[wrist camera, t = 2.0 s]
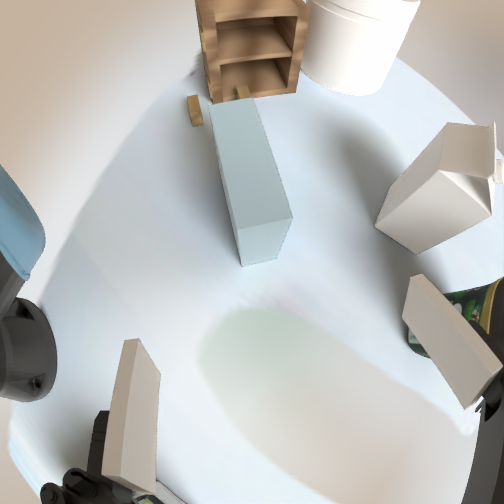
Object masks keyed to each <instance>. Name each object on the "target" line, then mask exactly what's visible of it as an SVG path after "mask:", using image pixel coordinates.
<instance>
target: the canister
mask: <svg viewBox="0 0 504 504" xmlns="http://www.w3.org/2000/svg"><path fill="white" fill-rule="evenodd" d="M306 4H307V5H308V6H309V7H310V8H311V10H310V16H309V21H308V27H307V33H306V38H305V44H304V50H303V55H302V61H301V66H300V68H301V70H302V71H303V72H304V73H305V74H306V75H307V76H308V77H309V78H310V79H311V80H313V81H315V82H316V83H318V84H320V85H321V86H323V87H325V88H328V89H331V90H333V91H336V92H338V93H343V94H348V95H369V94H372V93H375V92H376V91H377V90H378V89H379V88H380V87H381V85H382V83H383V81H384V79H385V77H386V75H387V73H388V71H389V69H390V67H391V65H392V63H393V61H394V59H395V57H396V54H397V52H398V50H399V48H400V46H401V44H402V42H403V39H404V37H405V35H406V33H407V31H408V29H409V25H410V22H411V21H412V20H413V17H414V15H415V13H416V11H417V8H418V6H419V4H420V0H306Z"/></svg>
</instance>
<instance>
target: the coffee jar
mask: <svg viewBox="0 0 504 504" xmlns="http://www.w3.org/2000/svg"><path fill="white" fill-rule="evenodd" d="M442 295H443V296H444V297H445V298H446V299H447V300H448V301H449V302H450V303H451V304H452V305H453V306H454V307H455V308H456V310H457V311H458V312H459V313H460V314H461V315H462V316H463V317H464V318H465V320H466V321H469V320H471V319H472V320H473V321H475V322H477V323H478V324H480V325H481V326H482V327H483V329H484V330H485V331H486V333H487V334H489V336H490V337H491V339H493V340H494V341H495V343H496V344H497V345H498V346H499V348H500V349H501V350H502V351H503V353H504V277H502V278H500V279H498V280H497V281H495V282H493V283H491V284H488V285H485V286H481V287H477V288H472V289H468V290H463V291H458V292H452V293H446V294H442ZM408 342H409V345H410V347H411V349H412V350H413V351H414V352H415V353H417V354H419V355H421V356H424V357H427V358H430V356H429V355H428V353H427V352H426V350H425V349H424V348H423V346H422V345H421V343H420V342H419V341H418V339H417V338H416V336H415V335H414V334H413V332H412V331H411V330H410V328H409V330H408ZM430 359H431V358H430Z"/></svg>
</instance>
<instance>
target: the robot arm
mask: <svg viewBox="0 0 504 504" xmlns="http://www.w3.org/2000/svg"><path fill="white" fill-rule="evenodd" d="M44 247H45V233H44V229H43V226H42V224H41V222H40V220H39V218H38V216H37V214H36V213H35V211H34V209H33V208H32V206H31V205H30V203H29V202H28V201H27V199H26V198H25V196H24V195H23V193H22V192H21V191H20V189H19V188H18V186H17V185H16V184H15V182H14V181H13V180H12V178H11V177H10V176H9V175H8V173H7V172H6V171H5V170H4V168H3V167H2V166H1V165H0V397H4V398H8V399H12V400H16V401H20V402H31V401H35V400H39V399H42V398H43V397H45V396H46V395H47V394H48V393H49V392H50V390H51V388H52V386H53V384H54V381H55V377H56V371H57V353H56V346H55V341H54V337H53V334H52V331H51V328H50V326H49V324H48V322H47V320H46V318H45V316H44V315H43V313H42V312H41V310H40V309H39V308H38V307H37V306H36V305H35V304H34V303H32V302H31V301H29V300H27V299H23V298H17V297H16V296H17V294H18V292H19V291H20V289H21V287H22V286H23V284H24V283H25V281H27V280H28V279H29V277H30V272H31V270H32V268H33V267H34V265H35V264H36V262H37V260H38V259H39V257H40V256H41V254H42V252H43V249H44ZM402 319H403V320H404V321H405V323H406V324H407V325H408V327H409V328H410V330H411V331H412V332H413V334H414V335H415V336H416V338H417V339H418V341H419V342H420V343H421V345H422V346H423V348H424V349H425V350H426V352H427V353H428V355H429V356H430V358H431V359H432V360H433V362H434V363H435V365H436V366H437V368H438V369H439V371H440V372H441V374H442V375H443V377H444V378H445V380H446V381H447V383H448V384H449V386H450V388H451V389H452V391H453V392H454V394H455V395H456V397H457V399H458V400H459V402H460V403H461V405H462V407H463V408H464V410H466V409H467V408H469V407H470V406H472V405H473V404H474V403H476V402H477V401H478V399H479V398H480V397H481V396H483V398H484V399H483V400H482V401H481V403H480V404H479V405H478V406H477V408H476V410H475V412H477V411H478V410H479V409H480V408H481V410H480V412H479V413H481V416H480V424H479V431H478V437H477V443H476V449H475V454H474V459H473V464H472V467H471V472H470V476H469V479H468V483H467V487H466V490H465V493H464V497H463V500H462V503H461V504H504V353H503V351H502V350H501V349H500V348H499V346H498V345H497V344H496V343H495V341H494V340H493V339H491V337H490V336H489V334H487V333H486V331H485V330H484V329H483V327H482V326H481V325H480V324H478V323H477V322H475V321H473V320H472V319H471V320H469V321H466V320H465V318H464V317H463V316H462V315H461V314H460V313H459V312H458V311H457V310H456V308H455V307H454V306H453V305H452V304H451V303H450V302H449V301H448V300H447V299H446V298H445V297H444V296H443V295H442V293H441V292H440V291H439V290H438V289H437V288H436V287H435V286H434V285H433V284H432V283H431V282H430V281H429V280H428V279H427V278H426V277H425V276H424V275H423V274H422V273H421V274H418V275H415V276H412V277H410V282H409V287H408V292H407V296H406V301H405V305H404V310H403V314H402ZM160 376H161V374H160V372H159V371H158V369H157V368H156V366H155V364H154V363H153V361H152V359H151V358H150V356H149V355H148V353H147V351H146V350H145V348H144V346H143V344H142V343H141V341H140V339H139V338H138V339H131V340H125V341H124V345H123V349H122V353H121V358H120V362H119V366H118V371H117V376H116V381H115V386H114V391H113V396H112V401H111V407H110V411H100V412H99V414H98V415H97V417H96V419H95V421H94V426H93V433H92V438H91V440H92V442H91V444H90V451H89V458H88V466H87V472H85V471H83V470H81V469H79V468H73V469H70V470H68V471H67V472H66V473H65V475H64V477H63V486H61V487H60V486H58V485H56V484H54V483H46V484H44V485H43V487H42V488H41V491H40V498H41V502H42V504H139V503H138V502H137V500H136V499H135V498H134V497H133V496H132V491H134V492H136V493H139V494H151V495H156V440H157V418H158V402H159V388H160Z"/></svg>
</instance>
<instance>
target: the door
mask: <svg viewBox="0 0 504 504" xmlns="http://www.w3.org/2000/svg"><path fill="white" fill-rule="evenodd" d="M208 107H209V113H210V118H211V124H212V130H213V136H214V141H215V147H216V152H217V158H218V163H219V169H220V174H221V179H222V183H223V188H224V192H225V196H226V201H227V205H228V209H229V214H230V218H231V222H232V227H233V231H234V235H235V239H236V244H237V248H238V252H239V256H240V261H241V265H242V267H244V266H248V265H252V264H257V263H261V262H265V261H269V260H274V259H277V256H278V254H279V251H280V249H281V247H282V244H283V242H284V239H285V237H286V234H287V232H288V229H289V227H290V224H291V222H292V219H293V216H292V212H291V209H290V206H289V203H288V199H287V196H286V193H285V190H284V187H283V184H282V181H281V178H280V174H279V171H278V168H277V165H276V162H275V159H274V156H273V153H272V150H271V148H270V145H269V142H268V139H267V136H266V133H265V130H264V127H263V125H262V122H261V119H260V116H259V113H258V111H257V108H256V105H255V102H254V100H253V97H252V98H246V99H240V100H234V101H228V102H223V103H218V104H213V105H208Z"/></svg>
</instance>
